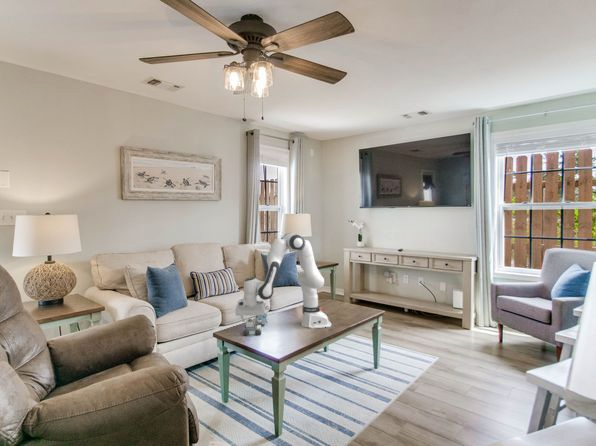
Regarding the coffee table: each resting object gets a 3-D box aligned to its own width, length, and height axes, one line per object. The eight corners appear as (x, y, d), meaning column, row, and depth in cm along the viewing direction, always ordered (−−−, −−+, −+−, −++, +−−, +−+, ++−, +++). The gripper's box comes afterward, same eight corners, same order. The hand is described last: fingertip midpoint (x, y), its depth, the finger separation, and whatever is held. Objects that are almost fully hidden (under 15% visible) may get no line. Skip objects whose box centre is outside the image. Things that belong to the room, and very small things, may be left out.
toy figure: (266, 329, 237) (266, 308, 237) (251, 328, 239) (251, 307, 239) (272, 322, 253) (272, 302, 253) (259, 321, 255) (259, 302, 255)
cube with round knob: (254, 328, 233) (254, 318, 233) (253, 330, 228) (253, 320, 228) (246, 328, 232) (246, 318, 232) (246, 330, 227) (246, 320, 227)
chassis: (261, 330, 236) (261, 323, 236) (261, 335, 225) (261, 329, 225) (244, 330, 236) (244, 323, 235) (243, 336, 224) (243, 329, 224)
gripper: (265, 299, 234) (265, 319, 234) (236, 300, 232) (236, 320, 233) (265, 302, 227) (265, 322, 228) (234, 303, 226) (235, 323, 227)
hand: (250, 321), depth 230 cm, fingers open, 8 cm apart
